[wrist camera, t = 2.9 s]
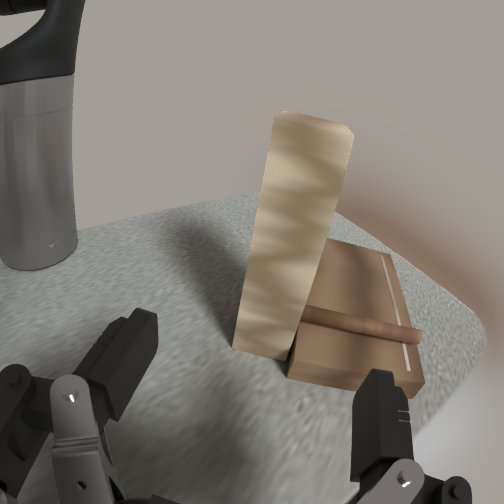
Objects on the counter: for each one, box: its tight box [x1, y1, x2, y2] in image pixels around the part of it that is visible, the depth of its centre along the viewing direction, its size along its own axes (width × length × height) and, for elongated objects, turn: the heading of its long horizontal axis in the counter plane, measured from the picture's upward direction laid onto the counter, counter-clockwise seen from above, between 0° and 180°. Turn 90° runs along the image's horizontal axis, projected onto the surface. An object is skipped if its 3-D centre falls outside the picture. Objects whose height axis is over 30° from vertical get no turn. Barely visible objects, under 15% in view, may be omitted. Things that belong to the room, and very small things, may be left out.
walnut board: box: [287, 238, 425, 399], centre depth 28 cm, size 10×19×2 cm, turn 168°
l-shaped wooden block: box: [232, 111, 422, 361], centre depth 20 cm, size 14×5×16 cm, turn 78°
